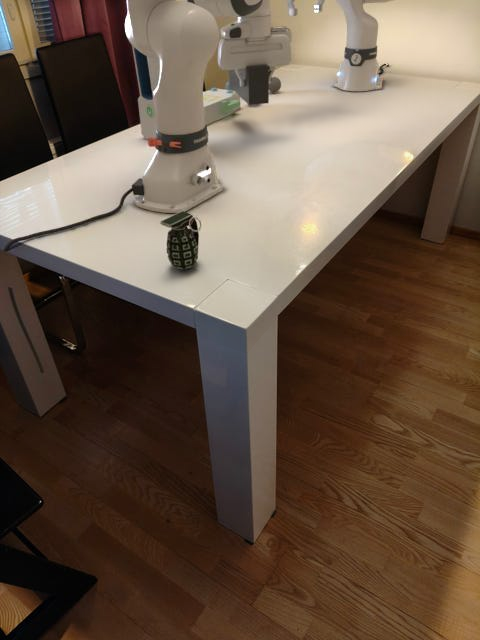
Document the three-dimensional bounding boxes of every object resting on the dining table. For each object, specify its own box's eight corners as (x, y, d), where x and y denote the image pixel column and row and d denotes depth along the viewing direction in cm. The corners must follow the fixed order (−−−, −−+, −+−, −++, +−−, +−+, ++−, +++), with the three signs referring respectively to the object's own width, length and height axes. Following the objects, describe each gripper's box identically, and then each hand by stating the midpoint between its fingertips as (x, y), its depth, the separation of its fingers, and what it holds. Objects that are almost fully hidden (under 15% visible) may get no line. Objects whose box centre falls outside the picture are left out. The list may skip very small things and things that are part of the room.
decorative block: (204, 85, 179) (249, 90, 169) (206, 103, 183) (250, 109, 173) (156, 101, 163) (202, 108, 153) (159, 121, 167) (204, 129, 157)
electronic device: (141, 137, 154) (123, 28, 136) (159, 131, 158) (144, 24, 140) (166, 145, 147) (151, 30, 129) (185, 138, 151) (172, 26, 133)
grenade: (182, 278, 88) (175, 228, 82) (162, 268, 91) (153, 219, 85) (208, 263, 92) (203, 214, 85) (187, 253, 95) (181, 205, 89)
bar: (268, 103, 137) (268, 65, 131) (248, 105, 136) (248, 67, 130) (246, 84, 157) (245, 51, 151) (229, 86, 156) (228, 52, 150)
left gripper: (288, 24, 133) (286, 79, 141) (214, 29, 129) (217, 85, 138) (295, 26, 128) (293, 84, 136) (219, 32, 124) (222, 90, 133)
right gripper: (328, -48, 140) (325, 9, 148) (271, -43, 131) (271, 17, 139) (343, -48, 135) (340, 10, 144) (286, -44, 127) (285, 18, 135)
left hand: (255, 85), depth 137 cm, fingers closed on bar, 6 cm apart
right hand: (306, 14), depth 142 cm, fingers open, 8 cm apart
